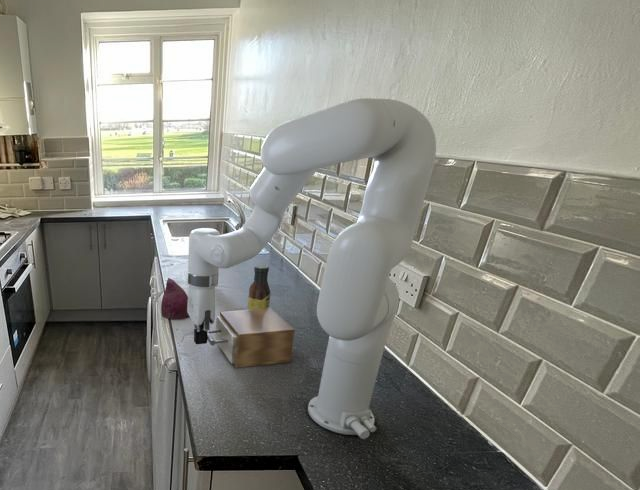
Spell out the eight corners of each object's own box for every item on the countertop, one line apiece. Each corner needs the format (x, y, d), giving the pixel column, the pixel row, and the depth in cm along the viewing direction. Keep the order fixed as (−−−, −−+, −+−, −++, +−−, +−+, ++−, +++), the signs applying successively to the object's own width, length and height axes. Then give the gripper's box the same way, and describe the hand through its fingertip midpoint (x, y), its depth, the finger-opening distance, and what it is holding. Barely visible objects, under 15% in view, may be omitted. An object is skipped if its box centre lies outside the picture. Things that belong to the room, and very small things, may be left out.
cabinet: (236, 367, 105) (239, 334, 101) (218, 341, 118) (220, 311, 114) (290, 362, 106) (294, 329, 102) (266, 337, 119) (269, 307, 115)
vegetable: (168, 329, 134) (159, 292, 125) (158, 314, 142) (149, 278, 134) (197, 318, 135) (190, 281, 126) (185, 303, 143) (177, 267, 135)
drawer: (213, 365, 104) (214, 339, 101) (198, 341, 116) (199, 317, 113) (280, 358, 106) (284, 332, 103) (259, 336, 118) (262, 311, 115)
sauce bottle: (267, 332, 122) (274, 270, 113) (246, 331, 123) (252, 269, 115) (265, 323, 127) (272, 263, 119) (245, 322, 129) (250, 263, 120)
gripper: (181, 270, 107) (180, 331, 115) (196, 290, 94) (194, 357, 102) (208, 268, 108) (205, 329, 116) (227, 287, 95) (223, 354, 102)
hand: (200, 342), depth 109 cm, fingers closed
